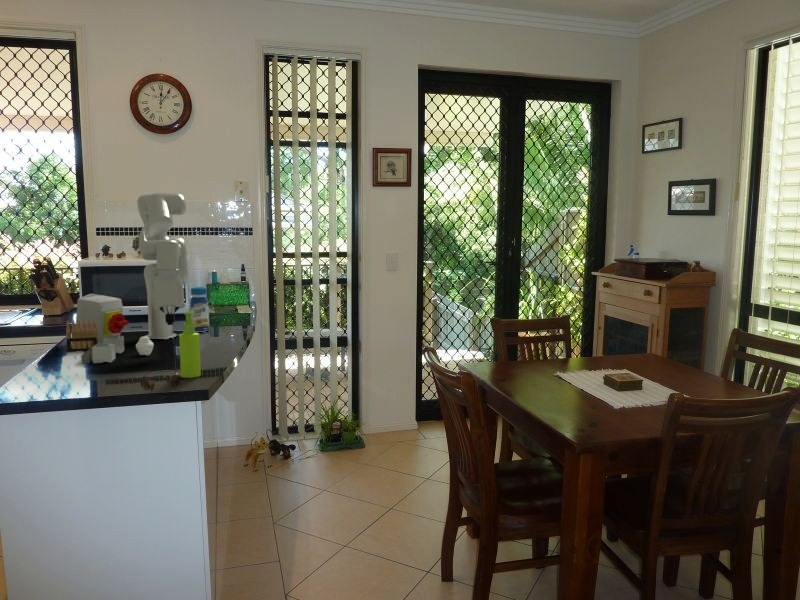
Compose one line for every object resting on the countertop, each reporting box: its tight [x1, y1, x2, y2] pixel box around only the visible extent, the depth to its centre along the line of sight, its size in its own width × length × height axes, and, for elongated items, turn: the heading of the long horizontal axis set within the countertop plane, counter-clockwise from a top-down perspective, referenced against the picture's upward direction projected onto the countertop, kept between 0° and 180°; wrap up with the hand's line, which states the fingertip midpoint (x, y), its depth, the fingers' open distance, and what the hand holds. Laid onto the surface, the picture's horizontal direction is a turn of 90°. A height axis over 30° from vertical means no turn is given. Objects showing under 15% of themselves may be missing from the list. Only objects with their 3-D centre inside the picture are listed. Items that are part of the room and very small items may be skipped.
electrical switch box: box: [75, 293, 129, 345], centre depth 251 cm, size 15×15×20 cm
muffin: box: [135, 335, 155, 356], centre depth 226 cm, size 6×6×7 cm
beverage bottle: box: [189, 286, 211, 331], centre depth 278 cm, size 8×8×20 cm
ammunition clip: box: [65, 319, 98, 353], centre depth 233 cm, size 11×2×12 cm, turn 108°
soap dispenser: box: [178, 310, 202, 379], centre depth 192 cm, size 6×7×20 cm
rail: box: [80, 334, 125, 365], centre depth 222 cm, size 24×9×6 cm, turn 14°
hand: (170, 324), depth 226 cm, fingers closed
